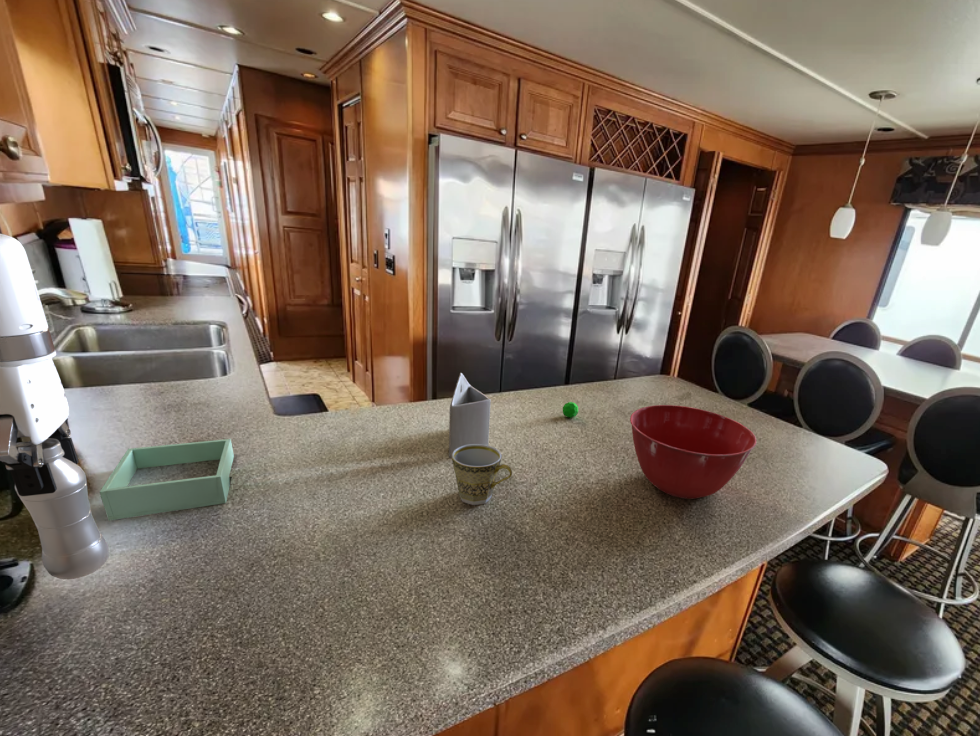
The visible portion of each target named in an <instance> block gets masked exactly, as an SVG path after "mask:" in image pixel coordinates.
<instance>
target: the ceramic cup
mask: <svg viewBox="0 0 980 736" xmlns="http://www.w3.org/2000/svg"><path fill="white" fill-rule="evenodd" d="M502 455H503V454H502V452H501V451H500V450H499V449H497V448H496V447H493V446H491V445H489V444H488V445H482V444H470V445H464V446H461V447H459V448H457V449H456V450H454V451H453V453H452V458H451V460H452V465H453V470H454V474H455V480H456V485H457V492H458V497H459V498H460V501H461V502H462V503H465V504H468V505H471V506H478V505H484V504H487V503H488V502H489V501H490V500H491V499H492V496H493V491H494V489H495V487H496V486H497V485H499V484H500V483H502V482H504V481H506V480H509V479H510V478H511V477H512V475H513V470H512V468H511V467H510V465H508V464H506V463H505V464H504V463H503V464H501V463H502V457H503V456H502ZM502 469H505V470H507V471H508V472H509V475H508V476H506V477H503V478H501V479H500V480H498V481H496V480H497V477H498V474H499V471H500V470H502Z"/></svg>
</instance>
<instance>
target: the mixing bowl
mask: <svg viewBox="0 0 980 736" xmlns="http://www.w3.org/2000/svg"><path fill="white" fill-rule="evenodd" d="M629 422H630V424H631V433H632V441H633V446H634V451H635V455H636V457H637V461H638V464H639V465H640V469H641V471H642V474H643V475H644V476H645V478H646V479H647V481H648V482H650V483H651V484H652V485H653V486H654V487H655V488H657V489H658V490H659V491H661V492H664V493H665V494H667V495H669V496H672V497H676V498H680V499H687V500H693V499H700V498H705V497H708V496H711V495H713V494H715V493H717V492H718V491H720V490H722V489H723V487H725V486H726V485H727V484H728V483H729V482H730V481H731V480H732V479H733V477H734V476H735V475H736V474H737V473H738V472H739V470H740V469H741V467H742V466H743V464H744V463H745V462H746V460H747V458H748V457H749V455H750V454H751V452H752V450H753V449H754V448H755V447H756V446H757V438H756V435H755V434H754V433H753V431H752V430H750V429H749V428H748V427H746V425H743V424H742V423H740V422H738V421H736V420H734V419H732V418H729V417H727V416H724V415H721V414H719V413H715V412H712V411H708V410H705V409H701V408H696V407H691V406H684V405H674V404H658V405H657V404H656V405H649V406H644V407H640V408H638V409H636V410H635V411H633V412H632V414H631V415H630V418H629Z"/></svg>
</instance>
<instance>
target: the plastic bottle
mask: <svg viewBox="0 0 980 736" xmlns="http://www.w3.org/2000/svg"><path fill="white" fill-rule="evenodd" d="M29 441H30V440H28V441H27V442H29ZM17 450H19V452H20V453H27V454H28V455H30V456H32V455H31V447H18V448H17ZM42 452H43V463H49V466H50V469H51V472H52V475H53V478H54V481H55V484H56V487H57V490H56V491H55V492H54V493H49V494H40V495H31V496H20V495H19V494H18V491H17V488H16V486H15V485H14V491H15V492H16V494H17V496H18V497H19V499H20V501H21V502H22V503H23V505H24V506H25V508H26V509H27V511H28V513H29V514H30V516H31V519H32V521H33V523H34V525H35V528H36V529H37V531H38V537H39V541H40V545H41V560H42V565H43V567H44V569H45V570H46V571H47V573H48V574H49V575H50V576H51V577H53V578H56V579H59V580H74V579H80V578H84V577H86V576H89V575H91V574H93V573H95V572H97V571H98V570H101V568H102V567H103V566H104V565H105V564H106V563H107V562H108V560H109V557H110V547H109V544H108V542H107V540H106V538H105V537H104V535H103V534H102V532H101V531H100V530H99V527H98V525H97V523H96V521H95V519H94V516H93V513H92V509H91V504H90V501H89V500H90V499H89V496H88V495H89V494H88V482H87V475H86V472H85V471H84V470H83V469H82V467H81V466H80V465H78V464H77V465H76V464H75V463H73V462H72V461H70V460H68V459H66V458H64V457H62V456H63V455H64V450H63V449H62V448H61V445H60V442H59V440H57V439H52V438H47V439H46V440H45V441H43V442H42Z"/></svg>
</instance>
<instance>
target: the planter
mask: <svg viewBox="0 0 980 736" xmlns="http://www.w3.org/2000/svg"><path fill="white" fill-rule="evenodd" d="M491 402H492V401H491V398H490V397H488V396H487V395H486V394H484V393H482V392H481V391H480V390H478V389H477V388H475V387H473V386H472V385H471V384H470V383H469V381H468V380H467V378H466V377H465V375H464V373H462V372H460V373H459V376H458V378H457V382H456V384H455V388H454V391H453V395H452V398H451V401H450V405H449V418H448V419H449V420H448V421H449V423H448V425H449V426H448V431H449V432H448V458H449V459H452V453H453V451H454V450H456V449H457V448H459V447H461V446H464V445H470V444H482V445H488V446H489V443H490V440H489V439H490V419H491Z"/></svg>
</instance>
